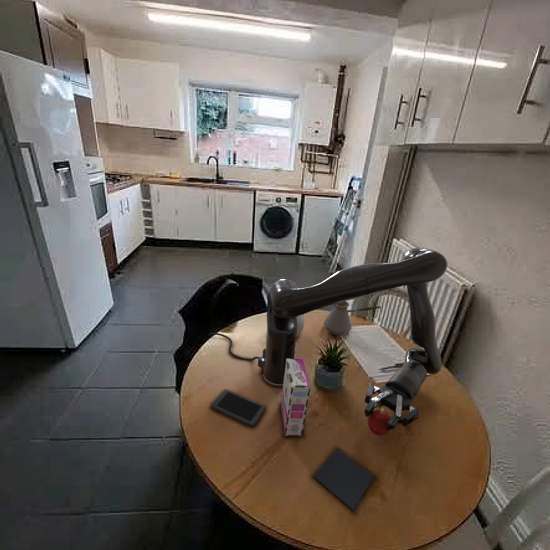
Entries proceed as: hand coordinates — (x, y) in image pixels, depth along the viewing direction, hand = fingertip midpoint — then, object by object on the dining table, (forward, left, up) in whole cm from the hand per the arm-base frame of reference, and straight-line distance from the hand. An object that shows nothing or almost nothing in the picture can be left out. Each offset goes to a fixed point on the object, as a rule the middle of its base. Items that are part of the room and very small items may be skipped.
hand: (377, 420), depth 75 cm
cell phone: (-33, -15, -10) cm, 38 cm away
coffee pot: (-31, +44, -10) cm, 55 cm away
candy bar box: (-20, -7, -10) cm, 23 cm away
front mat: (-1, -11, -10) cm, 15 cm away
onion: (0, +3, -7) cm, 7 cm away
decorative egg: (-48, +25, -10) cm, 55 cm away
